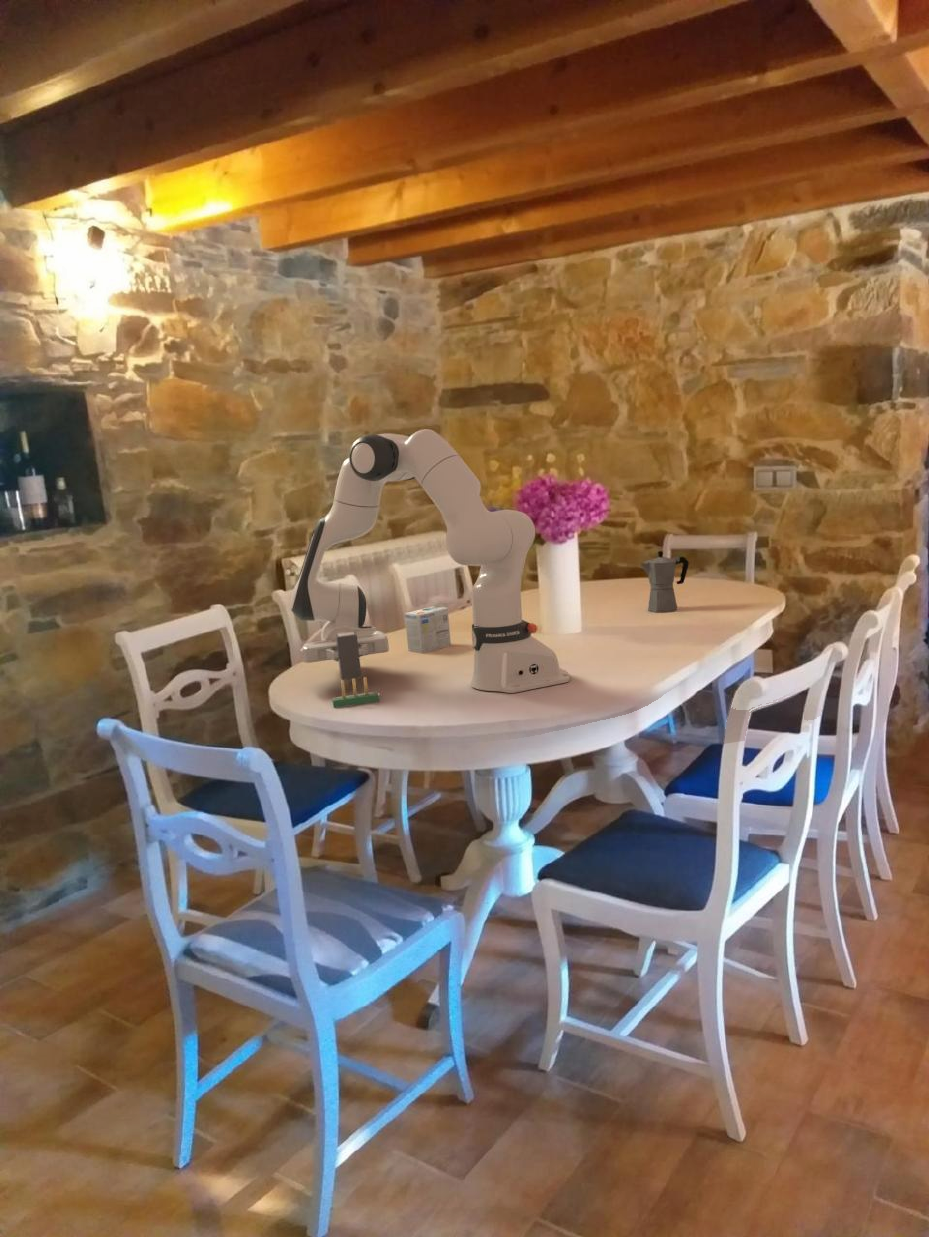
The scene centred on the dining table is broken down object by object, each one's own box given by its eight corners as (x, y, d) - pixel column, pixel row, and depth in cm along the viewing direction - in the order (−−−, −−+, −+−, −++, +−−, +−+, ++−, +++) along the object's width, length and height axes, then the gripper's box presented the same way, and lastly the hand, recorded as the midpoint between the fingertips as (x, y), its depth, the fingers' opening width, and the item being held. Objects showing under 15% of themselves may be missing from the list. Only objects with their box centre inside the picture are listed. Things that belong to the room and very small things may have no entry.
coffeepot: (647, 614, 278) (645, 554, 275) (636, 609, 287) (634, 551, 284) (696, 609, 280) (694, 549, 277) (683, 604, 290) (681, 546, 286)
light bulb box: (435, 643, 262) (432, 605, 260) (452, 645, 257) (449, 607, 255) (406, 651, 254) (403, 612, 252) (423, 653, 250) (419, 614, 247)
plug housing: (359, 673, 218) (354, 631, 216) (361, 677, 214) (356, 634, 212) (340, 676, 217) (335, 633, 215) (342, 680, 213) (336, 636, 211)
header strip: (377, 699, 208) (375, 675, 207) (379, 701, 206) (376, 677, 205) (333, 705, 206) (330, 681, 205) (333, 707, 204) (331, 683, 203)
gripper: (297, 636, 224) (301, 646, 211) (382, 625, 229) (390, 635, 215) (301, 661, 226) (304, 674, 212) (384, 650, 230) (393, 661, 216)
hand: (348, 654), depth 214 cm, fingers closed on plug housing, 4 cm apart
